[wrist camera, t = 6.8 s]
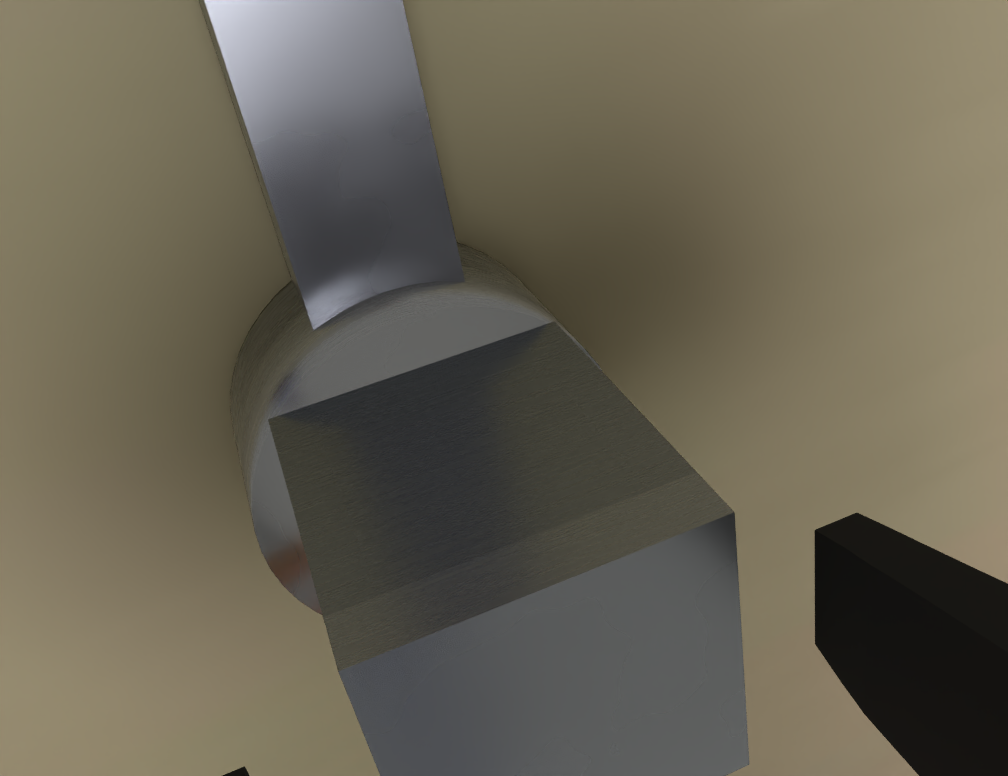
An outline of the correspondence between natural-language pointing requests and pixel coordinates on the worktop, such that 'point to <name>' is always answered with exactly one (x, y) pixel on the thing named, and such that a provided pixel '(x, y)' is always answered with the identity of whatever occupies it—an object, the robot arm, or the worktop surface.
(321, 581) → the grey brushed cube
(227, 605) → the worktop surface
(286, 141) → the ratchet
